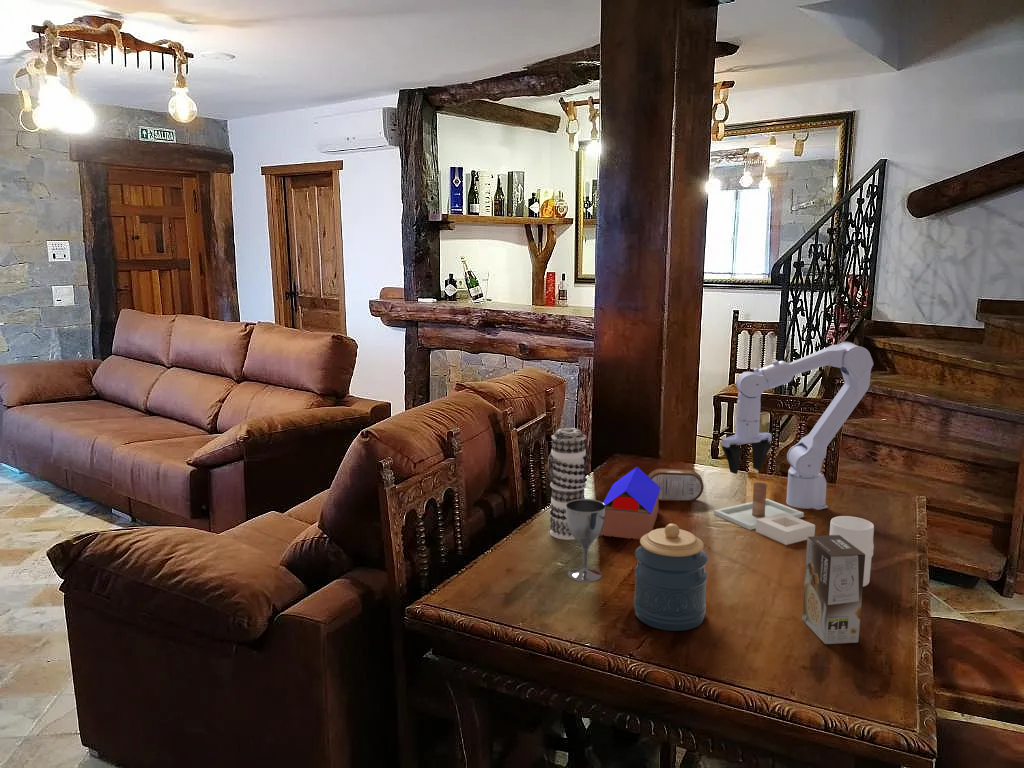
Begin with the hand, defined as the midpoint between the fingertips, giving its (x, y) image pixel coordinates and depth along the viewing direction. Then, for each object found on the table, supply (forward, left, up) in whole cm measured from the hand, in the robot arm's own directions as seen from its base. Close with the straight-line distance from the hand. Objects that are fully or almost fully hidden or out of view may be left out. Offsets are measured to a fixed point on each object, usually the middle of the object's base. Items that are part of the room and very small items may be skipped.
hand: (745, 470), depth 196 cm
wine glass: (+59, +15, -10) cm, 62 cm away
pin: (+4, +9, -8) cm, 13 cm away
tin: (+13, -12, -10) cm, 20 cm away
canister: (+55, +37, -10) cm, 67 cm away
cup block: (+8, +21, -9) cm, 24 cm away
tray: (+4, +9, -9) cm, 14 cm away
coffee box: (+34, +55, -10) cm, 65 cm away
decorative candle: (+50, -6, -10) cm, 51 cm away
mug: (+12, +41, -10) cm, 44 cm away
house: (+33, -4, -10) cm, 35 cm away
